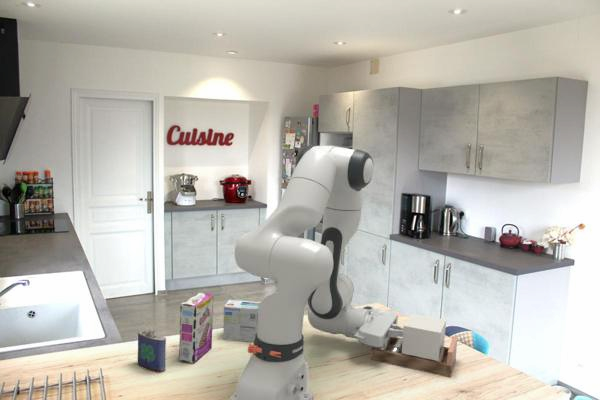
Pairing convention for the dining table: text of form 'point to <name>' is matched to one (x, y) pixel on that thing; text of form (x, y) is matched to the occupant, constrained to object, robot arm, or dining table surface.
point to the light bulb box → (240, 320)
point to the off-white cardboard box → (424, 336)
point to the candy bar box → (195, 327)
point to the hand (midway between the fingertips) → (406, 333)
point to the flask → (151, 351)
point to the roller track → (394, 355)
